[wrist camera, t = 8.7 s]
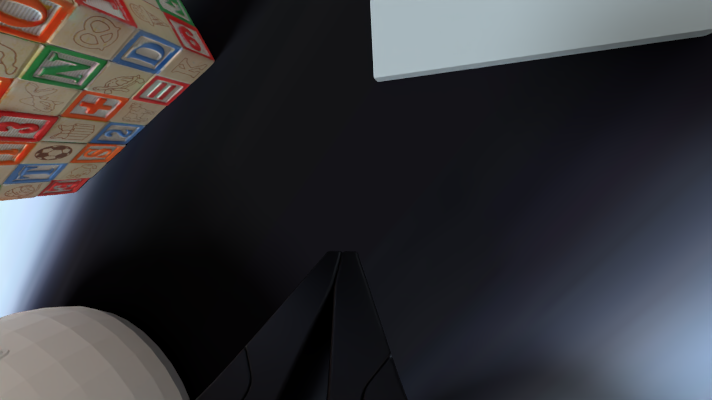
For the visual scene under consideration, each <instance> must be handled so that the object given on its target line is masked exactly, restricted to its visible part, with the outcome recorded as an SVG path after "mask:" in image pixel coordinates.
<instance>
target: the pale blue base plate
mask: <svg viewBox="0 0 712 400" xmlns="http://www.w3.org/2000/svg"><path fill="white" fill-rule="evenodd" d="M370 6H371V27H372V48H373V69H374V79H375V80H376V81H377V82H381V81H388V80H395V79H402V78H409V77H416V76H423V75H430V74H437V73H445V72H452V71H459V70H466V69H473V68H480V67H487V66H494V65H501V64H508V63H515V62H522V61H530V60H537V59H544V58H551V57H558V56H565V55H572V54H579V53H586V52H593V51H600V50H608V49H615V48H622V47H629V46H636V45H643V44H650V43H657V42H664V41H671V40H678V39H685V38H693V37H700V36H706V35H708V34H710V33H712V0H370Z"/></svg>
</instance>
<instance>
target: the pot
mask: <svg viewBox="0 0 712 400" xmlns="http://www.w3.org/2000/svg"><path fill="white" fill-rule="evenodd" d="M0 400H190V399H189V396H188V394H187V392H186V389H185V387H184V384H183V382H182V381H181V379H180V377H179V375H178V374H177V372H176V370H175V369H174V367H173V365H172V363H171V362H170V361H169V360H168V358H167V357H166V356H165V354H164V353H163V352H162V351H161V349H160V348H159V347H158V346H157V345H156V344H155V343H154V342H153V341H152V340H151V339H150V338H149V337H148V336H147V335H146V334H145V333H144V332H143V331H142V330H140V329H139V328H137V327H136V326H135V325H133V324H132V323H130V322H129V321H128V320H126V319H123V318H121V317H119V316H117V315H115V314H113V313H109V312H104V311H100V310H97V309H92V308H88V307H83V306H71V307H52V308H41V309H35V310H30V311H24V312H19V313H14V314H10V315H7V316H4V317H1V318H0Z"/></svg>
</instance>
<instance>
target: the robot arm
mask: <svg viewBox="0 0 712 400" xmlns="http://www.w3.org/2000/svg"><path fill="white" fill-rule="evenodd" d="M326 396H327V400H408V399H407V397H406V394H405V391H404V389H403V386H402V383H401V381H400V378H399V375H398V372H397V369H396V366H395V363H394V360H393V358H392V357H391V352H390V349H389V346H388V343H387V340H386V337H385V334H384V331H383V328H382V325H381V322H380V319H379V316H378V313H377V310H376V307H375V304H374V301H373V298H372V295H371V292H370V289H369V286H368V283H367V280H366V277H365V274H364V271H363V268H362V265H361V262H360V259H359V256H358V253H357V252H347V251H345V252H343V253H342V252H341V251H329V252H327V253H326V254H325V255H324V257H323V258H322V259H321V260H320V261H319V262H318V263H317V265H316V266H315V267H314V268H313V269H312V270H311V271H310V273H309V274H308V275H307V276H306V277H305V278H304V280H303V281H302V282H301V283H300V284H299V285H298V286H297V288H296V289H295V290H294V291H293V292H292V293H291V294H290V296H289V297H288V298H287V299H286V300H285V301H284V302H283V304H282V305H281V306H280V307H279V308H278V309H277V310H276V312H275V313H274V314H273V315H272V316H271V317H270V318H269V320H268V321H267V322H266V323H265V324H264V325H263V326H262V328H261V329H260V330H259V331H258V332H257V333H256V335H255V336H254V337H253V338H252V339H251V340H250V341H249V343H248V344H247V345H246V349H245V348H243V349H242V350H241V352H240V353H239V354H238V355H237V356H236V357H235V358H234V360H233V361H232V362H231V363H230V364H229V365H228V366H227V367H226V368H225V369H224V371H223V372H222V373H221V374H220V375H219V376H218V377H217V378H216V379H215V380H214V382H213V383H212V384H211V385H210V386H209V387H208V388H207V389H206V390H205V391H204V392H203V393H202V394H201V395H200V396H199V397H198V398H197V399H196V400H326Z"/></svg>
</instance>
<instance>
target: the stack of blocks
mask: <svg viewBox="0 0 712 400" xmlns="http://www.w3.org/2000/svg"><path fill="white" fill-rule="evenodd" d="M214 62H215V60H214V58H213V56H212V55H211V53H210V51H209V49H208V47H207V46H206V44H205V42H204V40H203V38H202V37H201V35H200V33H199V31H198V29H197V28H196V27H195V25H194V24H193V22H192V20H191V18H190V16H189V14H188V13H187V11H186V9H185V7H184V5H183V4H182V2H181V0H0V201H3V200H12V199H22V198H32V197H36V196H47V195H58V194H67V193H75V192H76V191H77V190H78V189H79V188H80V187H81V186H82V185H83V184H84V183H85V182H86V181H87V180H88V179H89V178H91V177H93V176H94V175H95V174H96V173H97V172H98V171H99V170H100V169H101V168H103V167H104V166H105V165H106V163H107V162H108V161H110V160H111V159H112V158H113V157H114V156H115V155H116V154H117V153H119V152H120V151H121V150H122V149H123V148H124V147H125V146H126V144H127V143H128V142H129V141H130V140H131V139H132V138H133V137H134V136H136V135H137V133H139V132H140V131H141V130H142V129H143V128H144V127H145V125H146V124H148V123H149V122H150V121H151V120H152V119H153V118H154V117H155V116H156V115H157V114H158V113H159V112H160V111H162V110H163V109H164V108H165V107H166V106H168V105H169V104H170V103H171V102H172V101H173V100H174V99H176V98H177V97H178V96H179V95H180V94H181V93H182V92H183V91H184V90H185V89H186V88H187V87H188V86H189V85H190V84H191V83H193V82H194V81H195V80H196V79H197V78H198V77H199V76H200V75H202V74H203V73H204V72H205V71H206V70H207V69H208V68H209V67H210V66H211V65H212V64H213V63H214Z"/></svg>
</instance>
